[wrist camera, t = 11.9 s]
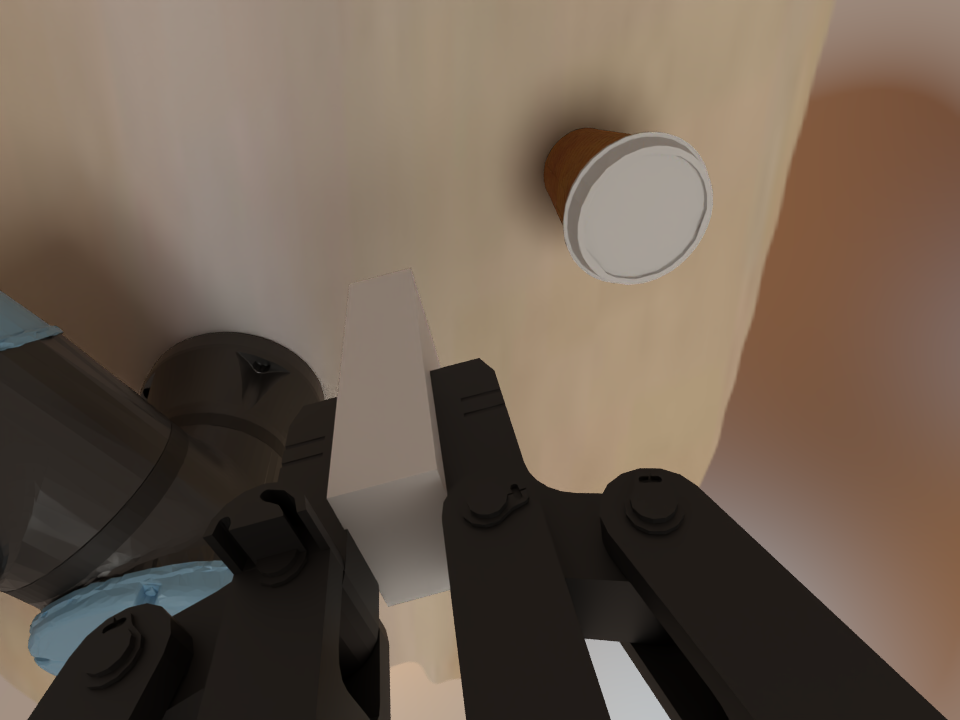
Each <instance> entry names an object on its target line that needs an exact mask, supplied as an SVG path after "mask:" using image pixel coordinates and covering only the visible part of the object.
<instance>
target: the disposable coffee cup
mask: <svg viewBox="0 0 960 720" xmlns="http://www.w3.org/2000/svg"><path fill="white" fill-rule="evenodd" d="M544 183H545V187H546V190H547V192H548V194H549V196H550V198H551V200H552V202H553V205H554V207H555V209H556V211H557V214H558V216H559V218H560V220H561V222H562V224H563V229H564V238H565V243H566V246H567V248H568V250H569V252H570V254H571V256H572V258H573V260H574V261H575V262H576V263H577V265H578V266H579V267H580V268H581V269H582V270H584V271H585V272H586V273H587V274H589V275H591V276H592V277H594V278H596V279H599V280H602V281H606V282H611V283H619V284H626V285H630V284H639V283H645V282H648V281H652V280H655V279H657V278H659V277H661V276H663V275H665V274H667V273H669V272H671V271H672V270H673V269H675V268H676V267H677V266H679V265H680V264H681V263H682V262H683V261H685V260H686V259H687V257H688V256H689V255H690V254H691V253H692V252H693V251H694V249H695V248H696V247H697V245H698V244H699V242H700V241H701V239H702V237H703V235H704V233H705V231H706V229H707V227H708V224H709V221H710V218H711V213H712V207H713V190H712V185H711V181H710V178H709V176H708V172H707V169H706V166H705V163H704V162H703V160H702V158H701V157H700V155H699V153H698V152H697V151H696V150H695V149H694V148H693V147H692V146H691V145H690V144H689V143H687V142H685V141H684V140H682V139H681V138H679V137H676V136H674V135H671V134H668V133H662V132H642V133H638V134H633V135H631V134H626V133H619V132H611V131H605V130H598V129H593V128H583V129H578V130H575V131H572V132H570V133H569V134H567V135H565V136H564V137H562V138H561V139H560V140H559V141H558V142H557V143H556V144H555V145H554V147H553V148H552V150H551V151H550V153H549V155H548V157H547V160H546V162H545V168H544Z"/></svg>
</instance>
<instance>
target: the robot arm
mask: <svg viewBox="0 0 960 720" xmlns="http://www.w3.org/2000/svg"><path fill="white" fill-rule="evenodd" d="M62 333H63V331H62V330H61V329H60V328H59V327H57V326H51V325H49V324H47V323H46V322H44V321H43V320H42V319H40V318H39V317H37V316H36V315H35V314H33V313H32V312H30V311H29V310H27V309H26V308H25V307H23V306H22V305H20V304H19V303H17V302H16V301H15V300H13V299H12V298H10V297H9V296H7V295H6V294H5V293H3V292H2V291H0V591H1V592H4V593H6V594H9V595H11V596H13V597H15V598H18V599H20V600H22V601H24V602H26V603H28V604H30V605H32V606H34V607H36V608H38V609H40V611H41V613H39V614H38V615H36V617H35V618H34V620H33V621H32V624H31V625H30V631H29V632H30V634H31V635H30V638H29V642H28V649H29V651H30V653H31V655H32V656H33V657H35V658H34V660H35V662H36V663H37V664H38V666H40V667H41V668H42V669H44V670H45V671H47V672H49V673H51V674H53V675H55V676H56V678H55V679H54V681H53V682H52V684H51V685H50V687H49V688H48V690H47V691H46V693H45V694H44V696H43V697H42V699H41V700H40V702H39V703H38V705H37V707H36V708H35V710H34V711H33V712H32V714H31V715H30V717H29V718H28V720H390V718H391V717H390V667H389V641H388V637H387V632H386V629H385V627H384V625H383V624H382V622H381V621H380V619H379V591H380V593H381V595H382V596H383V598H384V600H385V602H386V603H387V605H388V607H389V606H393V605H396V604H400V603H404V602H408V601H411V600H415V599H419V598H422V597H426V596H430V595H433V594H437V593H441V592H444V591H448V590H450V591H451V599H452V607H453V616H454V624H455V632H456V640H457V648H458V657H459V665H460V673H461V681H462V689H463V697H464V706H465V714H466V720H611V719H610V716H609V713H608V710H607V707H606V704H605V700H604V697H603V694H602V692H601V688H600V685H599V682H598V679H597V676H596V673H595V670H594V667H593V664H592V661H591V658H590V655H589V651H588V649H587V645H586V642H585V639H597V640H607V641H618V642H620V643H621V645H622V646H623V648H624V649H625V651H626V652H627V654H628V655H629V657H630V658H631V660H632V661H633V663H634V664H635V666H636V668H637V669H638V671H639V672H640V674H641V675H642V677H643V678H644V680H645V681H646V683H647V684H648V686H649V687H650V689H651V690H652V692H653V693H654V695H655V696H656V698H657V699H658V701H659V702H660V704H661V705H662V707H663V708H664V710H665V712H666V713H667V714H668V716H669V718H670V719H671V720H947V719H946V718H945V717H944V716H943V715H942V714H941V713H940V712H939V711H938V710H936V709H935V708H934V707H933V706H932V705H931V704H930V703H929V702H928V701H927V700H926V699H924V697H923V696H922V695H920V694H919V693H918V692H917V691H916V690H915V689H914V688H913V687H912V686H911V685H910V684H909V683H908V682H906V681H905V680H904V679H903V678H902V677H901V676H900V675H899V674H898V673H897V672H896V671H895V670H894V669H893V668H892V667H890V666H889V665H888V664H887V663H886V662H885V661H884V660H883V659H882V658H880V656H879V655H878V654H877V653H875V652H874V651H873V650H872V649H871V648H870V647H869V646H868V645H867V644H866V643H865V642H863V640H862V639H860V638H859V637H858V636H857V635H856V634H855V633H854V632H853V631H852V630H851V629H850V628H849V627H848V626H847V625H845V624H844V623H843V622H842V621H841V620H840V619H839V618H838V617H837V616H836V615H835V614H834V613H833V612H832V611H831V610H829V609H828V608H827V607H826V606H825V605H824V604H823V603H822V602H821V601H820V600H819V599H818V598H817V597H816V596H814V595H813V594H812V593H811V592H810V591H809V590H808V589H807V588H806V587H805V586H804V585H803V584H802V583H801V582H799V581H798V580H797V579H796V578H795V577H794V576H793V575H792V574H791V573H790V572H789V571H788V570H786V569H785V568H784V567H783V566H782V565H781V564H780V563H779V562H778V561H777V560H776V559H775V558H774V557H773V556H772V555H771V554H769V553H768V552H767V551H766V550H765V549H764V548H763V547H762V546H761V545H760V544H759V543H758V542H757V541H756V540H755V539H753V538H752V537H751V536H750V535H749V534H748V533H747V532H746V531H745V530H744V529H743V528H742V527H741V526H739V525H738V524H737V523H736V522H735V521H734V520H733V519H732V518H731V517H730V516H729V515H728V514H727V513H725V511H723V510H722V509H721V508H720V507H719V506H718V505H717V504H716V503H715V502H714V501H713V500H712V499H711V498H710V497H708V496H707V495H706V494H705V493H704V492H703V491H702V490H701V489H700V488H699V487H698V486H697V485H695V484H694V483H692V482H691V481H689V480H688V479H686V478H685V477H683V476H682V475H680V474H677V473H673V472H670V471H667V470H663V469H656V468H639V469H636V470H633V471H629V472H626V473H623V474H621V475H619V476H618V477H617V478H615V479H614V480H613V481H612V482H610V483H609V484H608V485H607V487H606V488H605V490H604V492H603V494H599V493H571V492H562V491H559V490H556V489H553V488H550V487H547V486H546V485H544V484H542V483H541V482H539V481H537V480H536V479H535V478H534V477H533V476H532V475H531V474H530V473H529V471H528V469H527V467H526V465H525V463H524V461H523V458H522V455H521V451H520V448H519V445H518V442H517V439H516V436H515V433H514V430H513V427H512V424H511V421H510V418H509V414H508V411H507V408H506V406H505V402H504V399H503V396H502V393H501V390H500V387H499V384H498V380H497V377H496V374H495V371H494V370H493V369H492V368H491V367H489V366H488V365H487V364H486V363H484V362H483V361H482V360H481V359H480V358H477V359H474V360H470V361H466V362H462V363H458V364H454V365H451V366H447V367H443V368H440V363H439V358H438V355H437V352H436V348H435V345H434V342H433V338H432V335H431V332H430V329H429V325H428V322H427V319H426V315H425V312H424V309H423V305H422V302H421V299H420V296H419V292H418V289H417V286H416V282H415V279H414V276H413V273H412V269H411V268H408V269H404V270H400V271H396V272H393V273H389V274H385V275H381V276H377V277H373V278H369V279H365V280H361V281H358V282H354V283H350V284H349V291H348V301H347V310H346V320H345V329H344V339H343V348H342V358H341V367H340V377H339V386H338V396H337V397H335V398H331V399H328V400H324V394H323V391H322V388H321V385H320V383H319V381H318V379H317V377H316V376H315V374H314V373H313V371H312V370H311V369H310V368H309V367H308V366H307V364H306V363H305V362H303V361H302V360H301V359H300V358H299V357H298V356H296V355H295V354H294V353H292V352H291V351H289V350H288V349H286V348H284V347H282V346H280V345H278V344H276V343H274V342H271V341H269V340H266V339H263V338H260V337H256V336H252V335H247V334H240V333H211V334H205V335H200V336H196V337H193V338H190V339H187V340H185V341H183V342H181V343H179V344H177V345H175V346H173V347H172V348H171V349H169V350H168V351H167V352H165V353H164V354H163V355H162V356H161V357H160V358H159V360H158V361H157V362H156V364H155V365H154V367H153V368H152V370H151V371H150V373H149V375H148V376H147V378H146V380H145V382H144V384H143V386H142V389H141V393H140V395H138V394H137V393H136V392H135V391H133V390H132V389H131V388H129V387H128V386H127V385H126V384H124V383H123V382H122V381H120V380H119V379H118V378H117V377H115V376H114V375H113V374H111V373H110V372H109V371H108V370H106V369H105V368H104V367H102V366H101V365H100V364H99V363H97V362H96V361H95V360H93V359H92V358H91V357H90V356H88V355H87V354H86V353H84V352H83V351H82V350H81V349H79V348H78V347H77V346H76V345H74V344H73V343H72V342H71V341H69V340H68V339H67V338H66V337H64V336H63V335H62ZM584 638H585V639H584Z"/></svg>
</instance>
